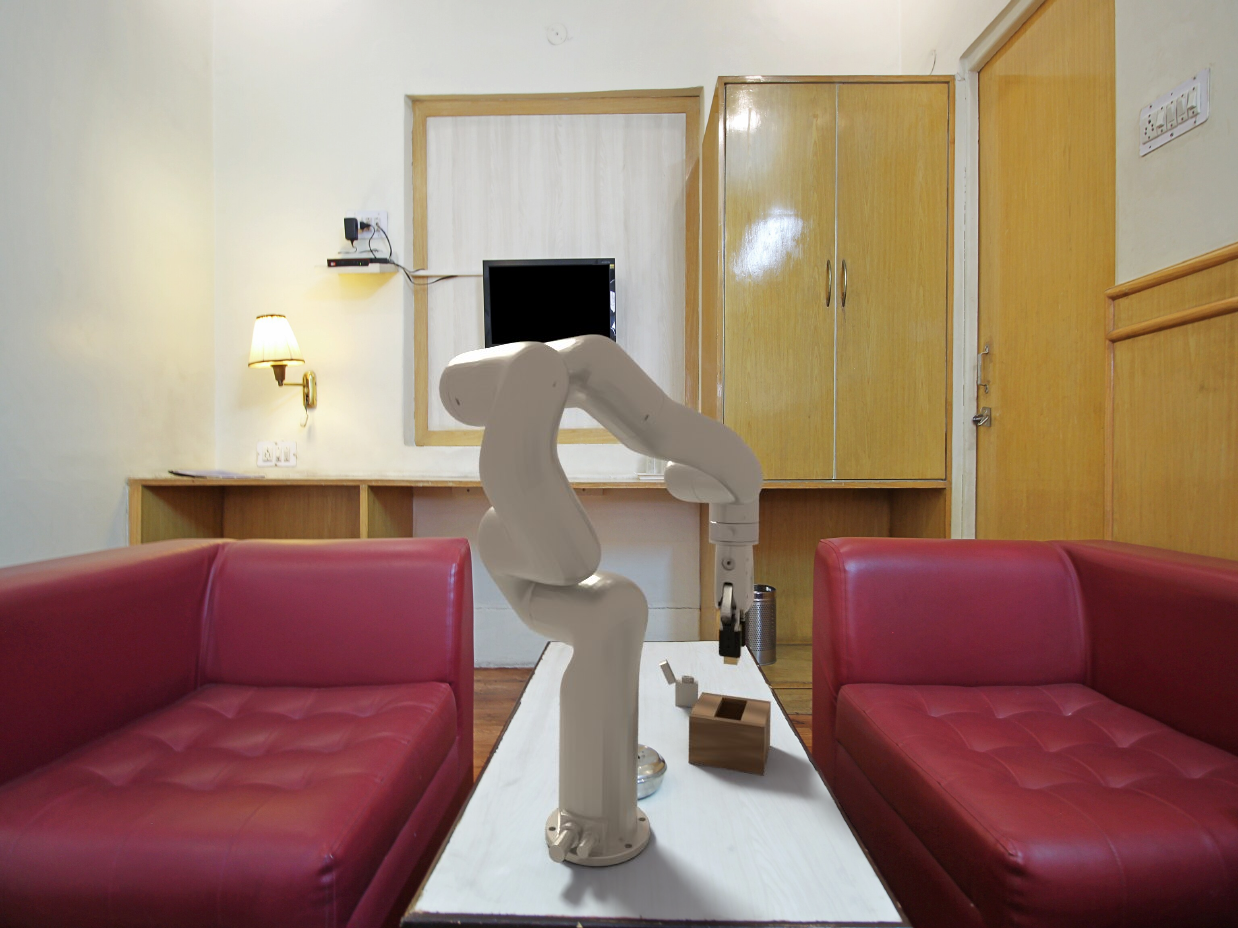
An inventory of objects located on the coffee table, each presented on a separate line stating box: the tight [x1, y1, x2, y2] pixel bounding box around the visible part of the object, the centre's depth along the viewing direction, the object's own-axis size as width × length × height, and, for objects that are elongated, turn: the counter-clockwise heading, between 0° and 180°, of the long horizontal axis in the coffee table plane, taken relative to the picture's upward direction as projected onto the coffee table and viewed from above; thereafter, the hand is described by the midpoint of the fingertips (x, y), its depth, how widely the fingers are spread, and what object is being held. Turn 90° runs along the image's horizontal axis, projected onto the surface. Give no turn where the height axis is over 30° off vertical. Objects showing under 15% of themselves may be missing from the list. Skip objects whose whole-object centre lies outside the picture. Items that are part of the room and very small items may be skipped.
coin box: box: [687, 691, 772, 776], centre depth 95 cm, size 10×11×7 cm
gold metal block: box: [723, 623, 743, 666], centre depth 95 cm, size 5×2×5 cm, turn 161°
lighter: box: [659, 659, 699, 708], centre depth 114 cm, size 7×2×8 cm, turn 82°
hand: (732, 649), depth 95 cm, fingers closed on gold metal block, 4 cm apart
